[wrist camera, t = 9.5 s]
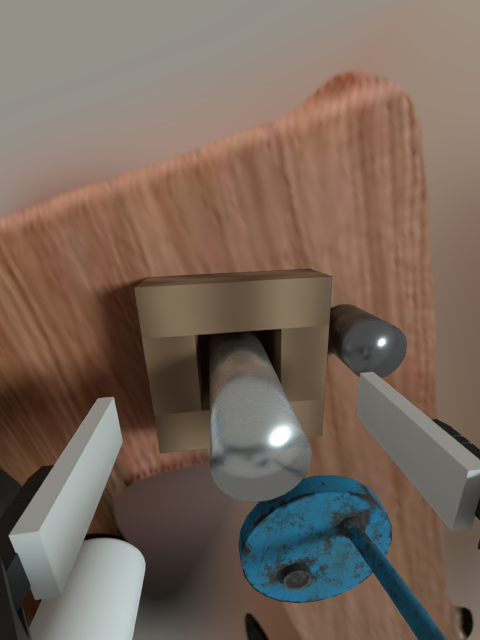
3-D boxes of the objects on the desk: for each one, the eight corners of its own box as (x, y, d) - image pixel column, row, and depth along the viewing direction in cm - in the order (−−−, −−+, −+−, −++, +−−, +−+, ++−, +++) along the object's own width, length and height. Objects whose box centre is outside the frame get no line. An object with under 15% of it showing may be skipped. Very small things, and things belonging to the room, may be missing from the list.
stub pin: (317, 351, 23) (346, 382, 19) (320, 305, 22) (351, 325, 17) (363, 348, 24) (402, 376, 19) (367, 302, 22) (410, 321, 18)
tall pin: (211, 368, 23) (213, 507, 11) (207, 322, 21) (206, 425, 10) (259, 364, 23) (309, 494, 12) (258, 318, 22) (313, 414, 10)
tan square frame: (167, 417, 24) (159, 453, 20) (148, 277, 20) (134, 287, 16) (304, 404, 25) (322, 435, 21) (309, 268, 21) (332, 276, 17)
